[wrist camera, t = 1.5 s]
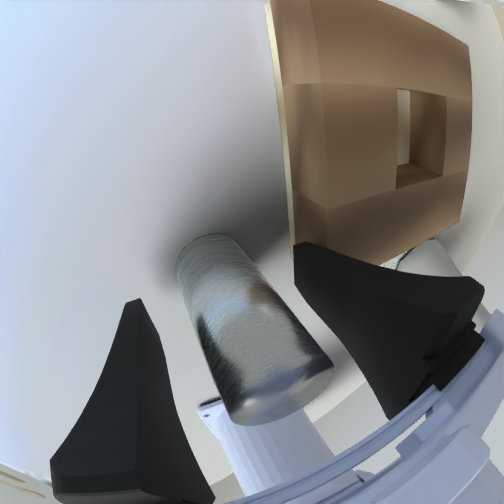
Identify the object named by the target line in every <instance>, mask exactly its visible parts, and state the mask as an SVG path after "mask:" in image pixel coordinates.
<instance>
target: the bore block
mask: <svg viewBox="0 0 504 504" xmlns="http://www.w3.org/2000/svg"><path fill="white" fill-rule="evenodd" d="M264 7H265V13H266V19H267V25H268V32H269V39H270V45H271V52H272V60H273V67H274V75H275V83H276V91H277V99H278V108H279V117H280V126H281V136H282V146H283V156H284V167H285V179H286V191H287V204H288V218H289V234H290V250H291V258H292V259H293V245H296V244H299V243H302V242H305V241H307V242H310V243H313V244H316V245H319V246H322V247H325V248H327V249H330V250H333V251H335V252H338V253H341V254H344V255H346V256H349V257H352V258H355V259H358V260H361V261H364V262H367V263H371V264H374V265H377V266H378V265H380V264H382V263H384V262H386V261H388V260H390V259H392V258H394V257H396V256H398V255H400V254H402V253H404V252H406V251H408V250H409V249H411V248H413V247H415V246H417V245H419V244H421V243H422V242H424V241H426V240H428V239H430V238H432V237H433V236H435V235H437V234H439V233H440V232H442V231H444V230H446V229H447V228H449V227H451V226H453V225H454V224H456V223H458V222H459V219H460V214H461V209H462V204H463V199H464V193H465V187H466V181H467V174H468V166H469V157H470V147H471V132H472V81H471V67H470V56H469V48H468V46H467V45H466V44H464V43H463V42H461V41H460V40H458V39H456V38H455V37H453V36H452V35H450V34H448V33H446V32H445V31H443V30H441V29H439V28H438V27H436V26H434V25H432V24H430V23H428V22H426V21H424V20H422V19H420V18H418V17H416V16H414V15H412V14H410V13H407V12H405V11H403V10H401V9H398V8H396V7H394V6H391V5H389V4H386V3H383V2H381V1H378V0H271V1H269V2H268V3H266V4H264ZM293 260H294V259H293Z"/></svg>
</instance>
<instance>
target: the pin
mask: <svg viewBox="0 0 504 504" xmlns="http://www.w3.org/2000/svg"><path fill="white" fill-rule="evenodd" d="M176 276H177V279H178V282H179V286H180V289H181V292H182V295H183V298H184V301H185V304H186V307H187V310H188V313H189V316H190V319H191V322H192V325H193V327H194V330H195V333H196V336H197V339H198V341H199V344H200V347H201V349H202V352H203V355H204V357H205V360H206V363H207V365H208V368H209V370H210V373H211V375H212V378H213V380H214V383H215V385H216V388H217V390H218V392H219V395H220V397H221V400H222V402H223V404H224V406H225V409H226V411H227V413H228V416H229V418H230V420H231V421H232V422H233V423H235V424H237V425H241V426H258V425H263V424H267V423H271V422H274V421H277V420H279V419H282V418H284V417H286V416H288V415H290V414H292V413H294V412H296V411H298V410H299V409H301V408H302V407H304V406H305V405H307V404H308V403H309V402H311V401H312V400H313V399H314V398H315V397H316V396H318V395H319V394H320V393H321V392H322V390H323V389H324V388H325V387H326V386H327V384H328V383H329V381H330V379H331V377H332V375H333V372H334V365H333V363H332V361H331V360H330V359H329V357H328V356H327V355H326V354H325V352H324V351H323V350H322V349H321V347H320V346H319V345H318V344H317V342H316V341H315V340H314V339H313V337H312V336H311V335H310V334H309V332H308V331H307V330H306V329H305V327H304V326H303V325H302V324H301V322H300V321H299V320H298V319H297V317H296V316H295V315H294V313H293V312H292V311H291V310H290V308H289V307H288V306H287V305H286V303H285V302H284V301H283V300H282V298H281V297H280V296H279V295H278V293H277V292H276V291H275V290H274V288H273V287H272V286H271V285H270V283H269V282H268V281H267V279H266V278H265V277H264V276H263V274H262V273H261V272H260V271H259V269H258V268H257V267H256V266H255V264H254V263H253V262H252V260H251V259H250V258H249V257H248V255H247V254H246V253H245V252H244V250H243V249H242V248H241V247H240V245H239V244H238V243H237V242H236V241H235V240H234V239H232V238H230V237H228V236H225V235H220V234H210V235H205V236H202V237H199V238H197V239H195V240H194V241H192V242H191V243H189V244H188V245H187V246H186V247H185V248H184V249H183V251H182V252H181V254H180V256H179V257H178V260H177V264H176Z"/></svg>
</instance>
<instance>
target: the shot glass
mask: <svg viewBox="0 0 504 504" xmlns="http://www.w3.org/2000/svg"><path fill="white" fill-rule="evenodd" d="M459 1H468V2H475V3H481V4H487V5H492V6H496V7H501V8H504V0H459Z"/></svg>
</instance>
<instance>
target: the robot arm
mask: <svg viewBox="0 0 504 504" xmlns="http://www.w3.org/2000/svg"><path fill="white" fill-rule="evenodd" d="M293 259H294V284H295V286H296V287H297V289H298V290H299V292H300V293H301V295H302V296H303V298H304V299H305V301H306V302H307V303H308V304H309V306H310V307H311V308H312V309H313V310H314V311H315V312H316V314H317V315H318V316H319V317H320V318H321V319H322V320H323V321H324V323H325V324H326V325H327V326H328V327H329V328H330V329H331V330H332V331H333V333H334V334H335V335H336V336H337V337H338V338H339V340H340V341H341V342H342V343H343V345H344V346H345V347H346V349H347V350H348V352H349V353H350V355H351V356H352V357H353V359H354V360H355V362H356V364H357V365H358V367H359V368H360V370H361V371H362V373H363V374H364V376H365V378H366V379H367V381H368V383H369V385H370V386H371V388H372V390H373V391H374V393H375V395H376V397H377V399H378V401H379V403H380V405H381V407H382V409H383V411H384V413H385V415H386V417H387V418H388V420H389V422H387V423H386V424H385V425H383V426H382V427H380V428H379V429H378V430H376V431H375V432H373V433H372V434H370V435H369V436H367V437H366V438H364V439H363V440H361V441H360V442H359V443H357V444H355V445H354V446H352V447H350V448H349V449H347V450H346V451H344V452H342V453H340V454H339V455H337V456H334V454H333V453H332V452H331V450H330V449H329V447H328V446H327V444H326V443H325V442H324V440H323V438H322V437H321V435H320V434H319V432H318V431H317V429H316V428H315V427H314V425H313V423H312V422H311V420H310V419H309V417H308V416H307V414H306V413H305V411H304V410H303V408H301V409H299V410H298V411H296V412H294V413H292V414H290V415H288V416H286V417H284V418H282V419H279V420H277V421H274V422H271V423H267V424H263V425H258V426H241V425H237V424H235V423H233V422H232V421H231V420H230V418H229V416H228V413H227V411H226V409H225V406H224V404H223V402H222V400H219V401H216V402H213V403H210V404H207V405H204V406H201V407H199V408H198V410H197V412H198V414H199V416H200V417H201V418H202V420H203V421H204V422H205V424H206V425H207V426H208V427H209V429H210V430H211V431H212V432H213V434H214V435H215V436H216V437H217V439H218V440H219V441H220V442H221V444H222V447H223V449H224V451H225V454H226V456H227V458H228V460H229V463H230V465H231V467H232V469H233V471H234V473H235V475H236V478H237V480H238V482H239V484H240V485H241V488H242V490H243V492H244V494H245V495H246V497H244V498H241V499H238V500H235V501H231V502H228V503H225V504H504V476H503V475H502V474H501V473H500V471H499V470H498V469H497V468H496V467H495V465H494V464H493V463H492V462H491V461H490V459H489V456H490V448H489V447H488V445H487V444H486V443H485V442H484V441H483V440H482V439H481V437H482V435H483V433H484V432H485V430H486V429H487V427H488V425H489V424H490V422H491V420H492V418H493V416H494V415H495V413H496V411H497V409H498V408H499V405H500V404H501V402H502V400H503V398H504V314H503V313H501V312H500V311H499V310H498V309H496V310H495V311H494V313H493V314H492V315H491V317H490V318H489V319H488V321H487V322H486V323H485V325H484V327H483V328H482V330H481V331H480V333H478V332H476V331H475V330H474V329H475V328H476V324H475V323H474V322H473V321H472V319H473V317H474V315H475V313H476V311H477V309H478V307H479V305H480V303H481V300H482V298H483V295H484V291H485V289H484V286H483V285H481V284H480V283H479V282H477V281H476V280H475V279H473V278H472V277H470V276H456V277H446V276H431V275H421V274H415V273H408V272H403V271H398V270H393V269H389V268H385V267H381V266H377V265H374V264H371V263H367V262H364V261H361V260H358V259H355V258H352V257H349V256H346V255H344V254H341V253H338V252H335V251H333V250H330V249H327V248H325V247H322V246H319V245H316V244H313V243H310V242H307V241H305V242H302V243H299V244H296V245H293ZM426 412H427V413H426ZM425 413H426V420H425V421H424V422H423V423H422V424H421V425H420V426H418V427H417V428H416V429H415V430H414V431H413V432H412V433H411V434H410V435H409V436H408V437H406V438H405V439H404V440H403V441H402V442H401V443H399V444H398V445H397V446H396V450H397V451H398V452H399V453H400V455H401V456H400V457H399V458H398V459H396V460H395V461H394V462H392V463H391V464H390V465H388V466H387V467H386V468H384V469H383V470H381V471H380V472H378V473H377V474H376V475H375V474H373V473H370V472H365V471H361V470H356V471H353V470H352V468H354V467H355V466H357V465H358V464H360V463H362V462H363V461H365V460H366V459H368V458H369V457H371V456H372V455H374V454H375V453H376V452H378V451H379V450H380V449H382V448H383V447H385V446H386V445H387V444H389V443H390V442H392V441H393V440H394V439H395V438H397V437H398V436H399V435H401V434H402V433H403V432H404V431H405V430H407V429H408V428H409V427H410V426H412V425H413V424H414V423H415V422H416V421H417V420H419V419H420V418H421V417H422V416H423V415H424V414H425ZM50 470H51V479H52V487H53V494H54V497H55V498H56V499H57V500H58V501H59V502H61V503H63V504H213V502H214V501H215V498H216V497H215V495H214V494H213V492H212V490H211V489H210V487H209V485H208V483H207V481H206V479H205V477H204V475H203V473H202V471H201V469H200V467H199V465H198V463H197V461H196V459H195V456H194V454H193V452H192V450H191V447H190V445H189V443H188V440H187V438H186V435H185V433H184V430H183V428H182V425H181V422H180V419H179V417H178V414H177V410H176V407H175V403H174V398H173V394H172V389H171V384H170V379H169V374H168V369H167V363H166V358H165V354H164V351H163V347H162V344H161V340H160V337H159V334H158V332H157V330H156V328H155V326H154V324H153V322H152V320H151V318H150V316H149V314H148V312H147V310H146V308H145V306H144V304H143V302H142V300H141V298H139V299H136V300H133V301H130V302H127V303H126V304H125V306H124V309H123V312H122V316H121V319H120V322H119V325H118V328H117V332H116V335H115V338H114V341H113V344H112V347H111V349H110V352H109V355H108V357H107V360H106V363H105V366H104V368H103V371H102V373H101V376H100V378H99V380H98V382H97V385H96V387H95V389H94V391H93V393H92V395H91V397H90V399H89V401H88V403H87V404H86V406H85V408H84V410H83V412H82V414H81V416H80V417H79V419H78V421H77V422H76V424H75V425H74V427H73V429H72V430H71V432H70V433H69V435H68V436H67V438H66V439H65V441H64V442H63V443H62V445H61V446H60V447H59V449H58V450H57V451H56V453H55V454H54V455H53V457H52V458H51V459H50Z"/></svg>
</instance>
